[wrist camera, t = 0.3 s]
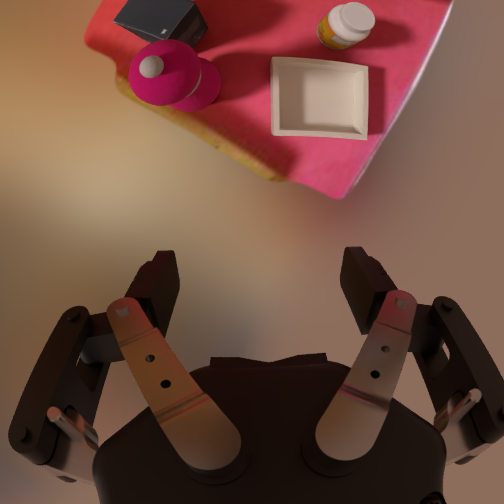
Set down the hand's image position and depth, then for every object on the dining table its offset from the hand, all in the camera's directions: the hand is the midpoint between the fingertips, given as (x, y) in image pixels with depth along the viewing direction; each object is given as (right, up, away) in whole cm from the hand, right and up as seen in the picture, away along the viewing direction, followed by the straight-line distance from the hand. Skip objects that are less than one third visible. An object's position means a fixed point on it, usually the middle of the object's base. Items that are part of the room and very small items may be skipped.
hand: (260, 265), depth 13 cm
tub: (+8, +22, +20) cm, 31 cm away
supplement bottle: (+11, +31, +15) cm, 36 cm away
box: (-11, +31, +15) cm, 36 cm away
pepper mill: (-8, +23, +19) cm, 31 cm away
